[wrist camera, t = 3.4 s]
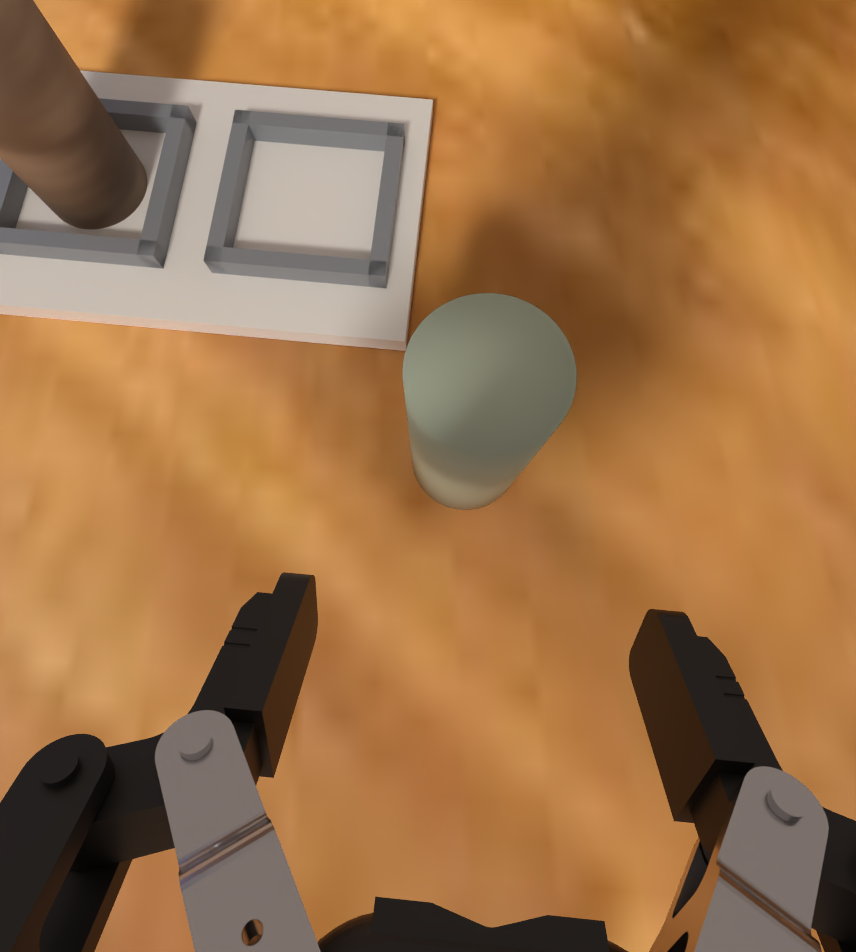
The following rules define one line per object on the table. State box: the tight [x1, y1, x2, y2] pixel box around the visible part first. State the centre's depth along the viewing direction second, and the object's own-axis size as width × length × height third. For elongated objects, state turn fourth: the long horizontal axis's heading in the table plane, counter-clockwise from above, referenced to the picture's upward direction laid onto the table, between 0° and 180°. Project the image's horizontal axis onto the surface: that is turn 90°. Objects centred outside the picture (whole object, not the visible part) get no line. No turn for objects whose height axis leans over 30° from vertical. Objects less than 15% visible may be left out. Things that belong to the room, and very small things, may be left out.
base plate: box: [0, 71, 433, 351], centre depth 27 cm, size 22×14×2 cm, turn 84°
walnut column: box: [0, 0, 147, 229], centre depth 22 cm, size 5×5×10 cm
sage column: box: [403, 293, 577, 510], centre depth 20 cm, size 5×5×10 cm
